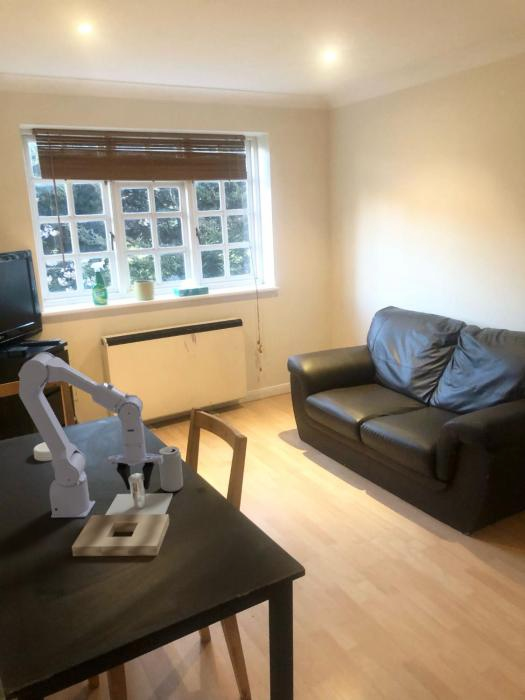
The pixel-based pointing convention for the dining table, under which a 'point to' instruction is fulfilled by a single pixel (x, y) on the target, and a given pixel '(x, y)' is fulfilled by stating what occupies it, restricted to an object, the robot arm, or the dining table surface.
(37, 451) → the white ridged disc
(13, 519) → the dining table surface
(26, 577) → the dining table surface
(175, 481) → the beverage can
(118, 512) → the grey mat
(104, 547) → the pocket holder
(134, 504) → the milkshake
